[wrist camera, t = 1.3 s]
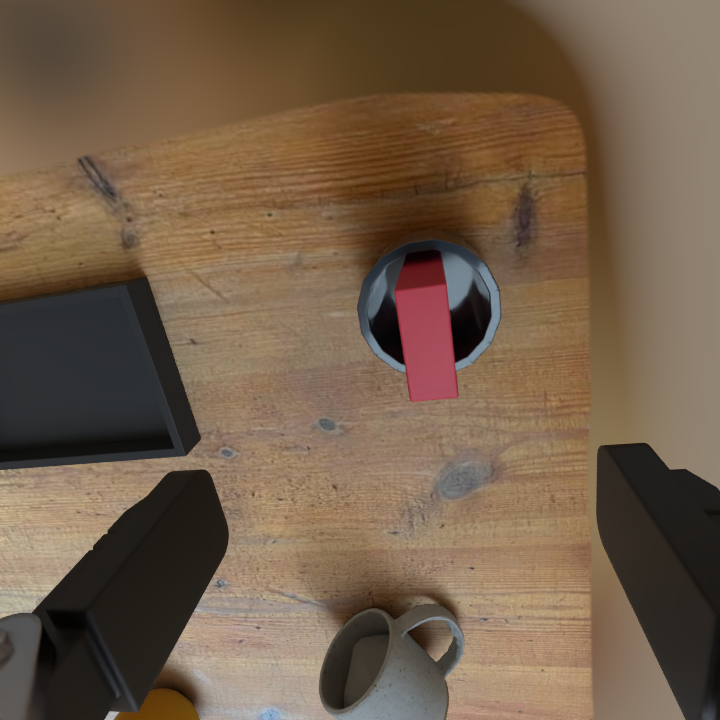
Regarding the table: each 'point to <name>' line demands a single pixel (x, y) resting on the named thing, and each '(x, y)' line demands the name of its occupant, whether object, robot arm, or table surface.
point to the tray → (89, 379)
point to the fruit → (162, 707)
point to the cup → (465, 295)
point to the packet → (426, 327)
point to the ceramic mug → (388, 668)
